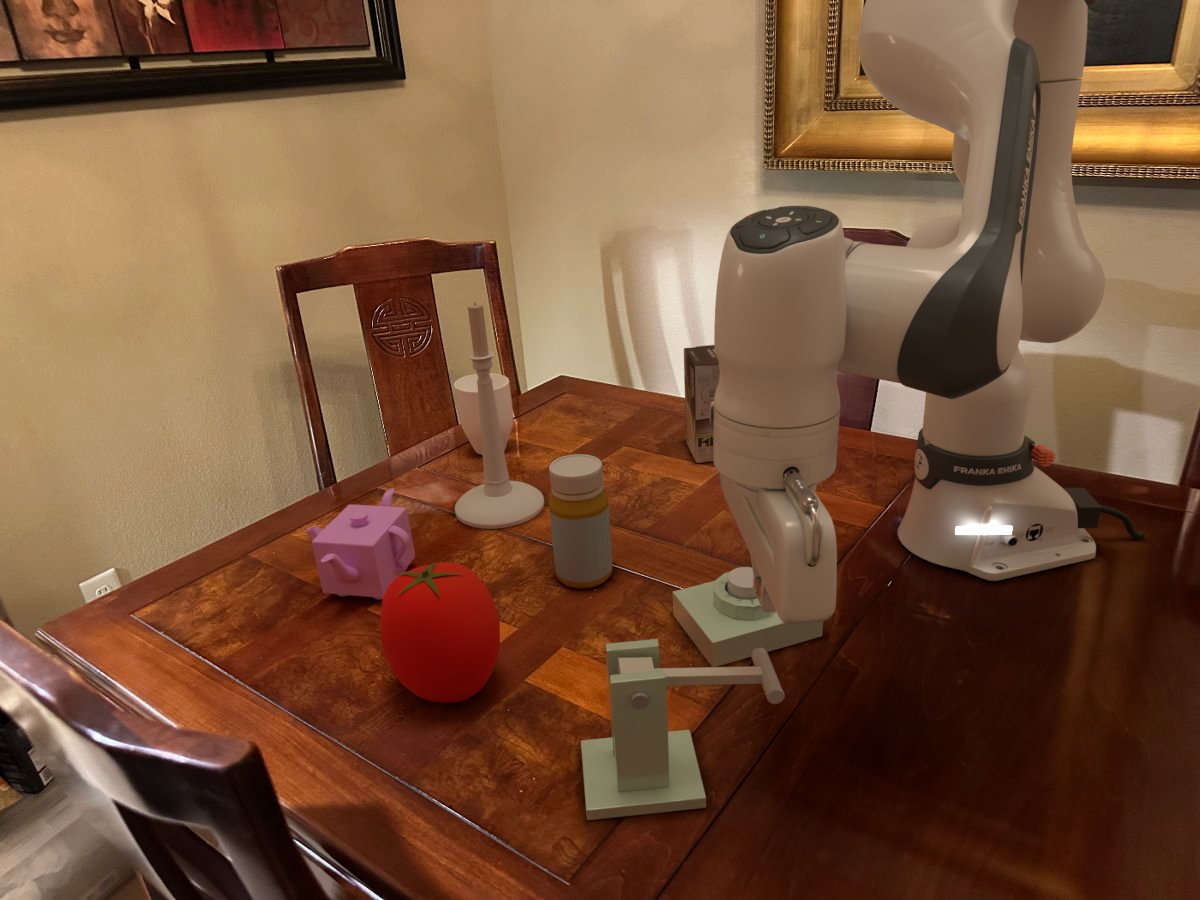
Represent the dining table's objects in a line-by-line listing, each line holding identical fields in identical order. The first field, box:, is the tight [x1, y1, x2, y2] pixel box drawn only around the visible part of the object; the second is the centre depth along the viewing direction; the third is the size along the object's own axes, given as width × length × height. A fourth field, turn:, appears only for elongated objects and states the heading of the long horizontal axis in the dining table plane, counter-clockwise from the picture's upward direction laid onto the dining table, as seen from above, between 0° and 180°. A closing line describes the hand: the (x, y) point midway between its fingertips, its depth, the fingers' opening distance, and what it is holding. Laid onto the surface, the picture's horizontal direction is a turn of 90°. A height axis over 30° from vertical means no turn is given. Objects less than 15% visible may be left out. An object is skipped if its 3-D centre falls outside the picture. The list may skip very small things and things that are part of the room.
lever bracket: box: [580, 638, 707, 821], centre depth 71 cm, size 10×8×13 cm
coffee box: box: [683, 344, 720, 464], centre depth 131 cm, size 9×6×16 cm
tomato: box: [379, 561, 501, 704], centre depth 83 cm, size 13×11×14 cm
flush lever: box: [617, 648, 786, 705], centre depth 69 cm, size 13×6×2 cm, turn 94°
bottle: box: [548, 453, 613, 590], centre depth 100 cm, size 7×7×15 cm
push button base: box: [672, 571, 824, 667], centre depth 91 cm, size 13×10×5 cm
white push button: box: [727, 566, 757, 600], centre depth 90 cm, size 4×4×2 cm
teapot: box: [305, 487, 416, 600], centre depth 103 cm, size 18×13×10 cm
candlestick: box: [454, 301, 545, 530], centre depth 115 cm, size 13×13×30 cm
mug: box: [453, 372, 514, 456], centre depth 138 cm, size 12×9×12 cm
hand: (768, 601), depth 67 cm, fingers closed
